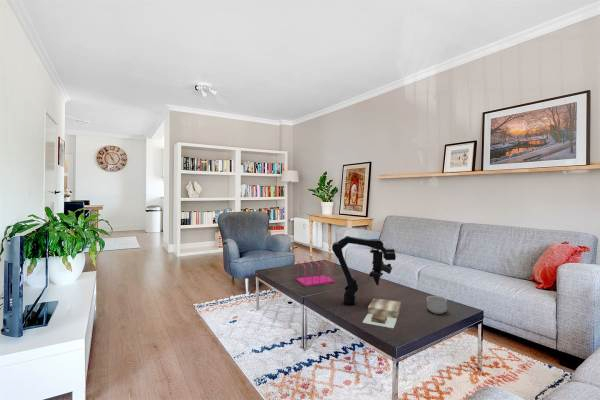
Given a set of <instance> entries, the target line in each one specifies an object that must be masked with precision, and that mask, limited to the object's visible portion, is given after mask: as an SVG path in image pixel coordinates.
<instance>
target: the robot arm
mask: <svg viewBox="0 0 600 400" xmlns="http://www.w3.org/2000/svg"><path fill="white" fill-rule="evenodd" d="M349 244H353V245H357V246H358V245H360V246H364V247H369V248H371V250H369V253H370V254H372V262H371V264H372V269H371V270H370V272H369V273H368V274H369V275H368V276H369V277H370V278H371V277H372V278H373V280H374V283H375V284H376V286H379V285H380V280H381V277H382V276H383V275H384V273H387V274H391V272H392V269H393V267H392V264H391V263H387V264H385V263H384V260H385V261H396V259H397V258H396V257H397V256H396V251H395V249H394V248H389V249H388V248H385V247H384V242H383V241H382V240H380V239H379V238H369V239H368V238H367V239H366V238H359V237H354V236H349V235H346V236H344V237H343V238H341V239H339V240H338V241H335V242H333V243H332V245H331V250H332V252H333V254H334V255H335V257H336V258H337V260H338V262H339V264H340V266H341V269H342V273H343V275H344V276H345V280H346V283H347V285H346V286H345V287H344V293H343V302H342V304H343V305H345V306H351V307H353V306H355V304H356V303H357V297H356V293H357V292H358V290H359V284H358V282H357V279H356V277H353V276H352V274H351V272H350V269H349V267H348V264H347V262H346V259H345V258H344V255H343V248H345V247H346V246H347V245H349ZM383 259H384V260H383Z"/></svg>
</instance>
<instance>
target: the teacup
mask: <svg viewBox="0 0 600 400" xmlns="http://www.w3.org/2000/svg"><path fill="white" fill-rule="evenodd" d="M447 301H448V299H447V298H446V297H444V296H443V295H429V296H427V297H426V307H427V309H428V311H430V312H431V313H432V314H438V315H441V314H444V313H446V311H447V309H448V302H447Z"/></svg>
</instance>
